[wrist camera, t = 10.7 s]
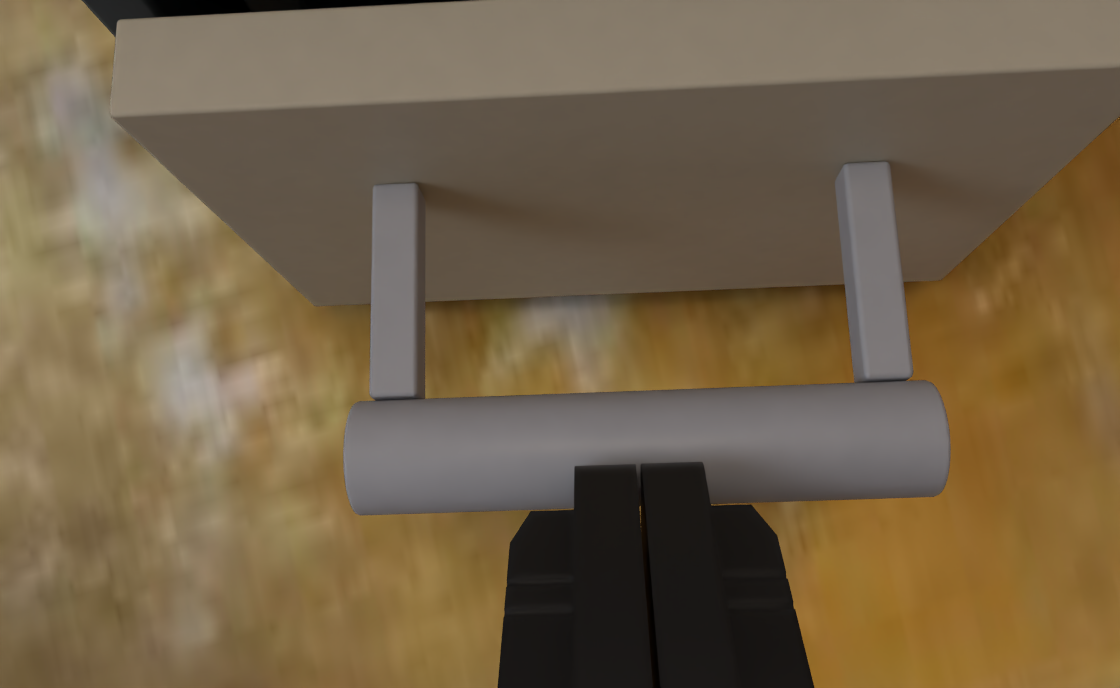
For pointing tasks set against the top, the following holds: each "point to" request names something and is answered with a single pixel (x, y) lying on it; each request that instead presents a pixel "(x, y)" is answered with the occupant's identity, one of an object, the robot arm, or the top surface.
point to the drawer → (623, 202)
